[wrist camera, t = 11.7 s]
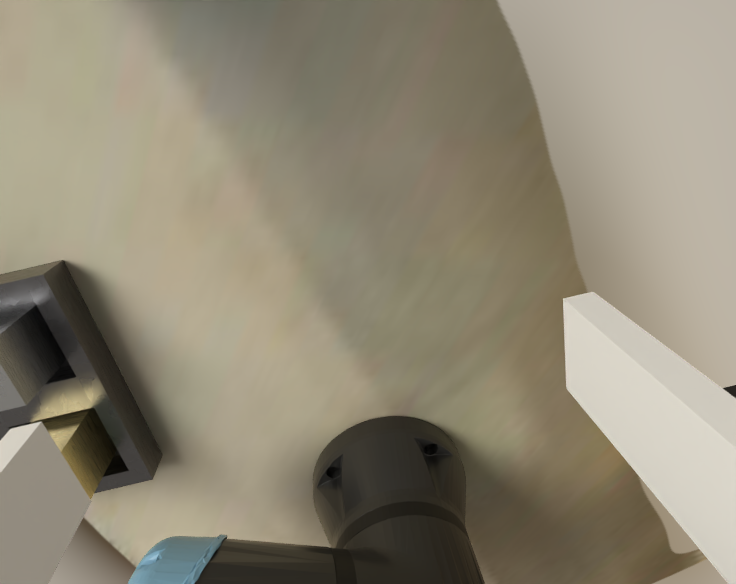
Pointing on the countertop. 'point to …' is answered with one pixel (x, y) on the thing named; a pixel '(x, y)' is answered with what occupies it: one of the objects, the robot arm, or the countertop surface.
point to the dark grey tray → (80, 374)
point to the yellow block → (82, 445)
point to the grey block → (25, 354)
